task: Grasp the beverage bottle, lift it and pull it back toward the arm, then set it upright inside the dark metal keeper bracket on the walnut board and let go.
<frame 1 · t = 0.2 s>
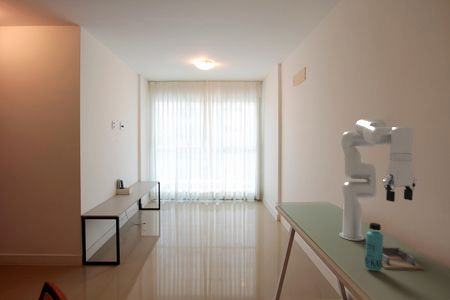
hand: (399, 200, 109), 31 cm above the table, tool pointing down, fingers open, 9 cm apart
beverage bottle: (373, 271, 114), on the table
keeper: (392, 261, 123), on the table
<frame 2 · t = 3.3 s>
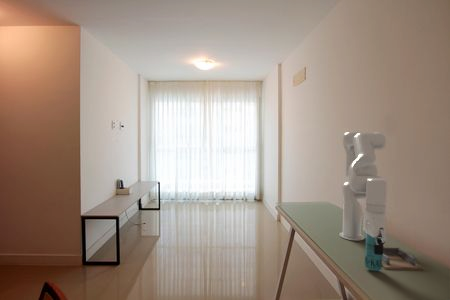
hand: (373, 250, 113), 9 cm above the table, tool pointing down, fingers closed on beverage bottle, 6 cm apart
beverage bottle: (373, 271, 114), on the table, touching gripper
when the fingers open (10 cm above the table, at t = 9.7 s): beverage bottle stays where it is, resting on keeper.
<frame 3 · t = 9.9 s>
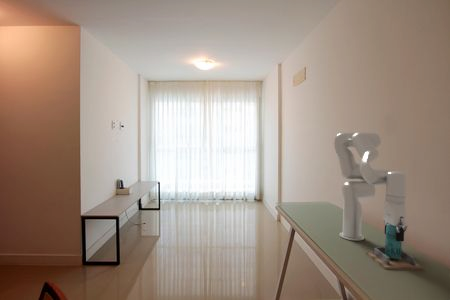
hand: (393, 237, 123), 11 cm above the table, tool pointing down, fingers open, 8 cm apart
beverage bottle: (392, 259, 123), point 1 cm above the table, touching keeper
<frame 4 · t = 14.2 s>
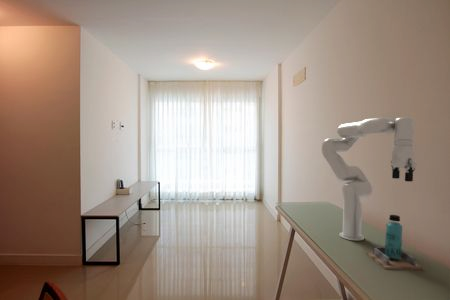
hand: (402, 179, 129), 36 cm above the table, tool pointing down, fingers open, 9 cm apart
nothing on the table moved.
at the end: beverage bottle inside the target area on the keeper (0.3 cm from its centre), point 0.8 cm above the keeper's base; beverage bottle tilted 0°; the gripper is holding nothing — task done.
